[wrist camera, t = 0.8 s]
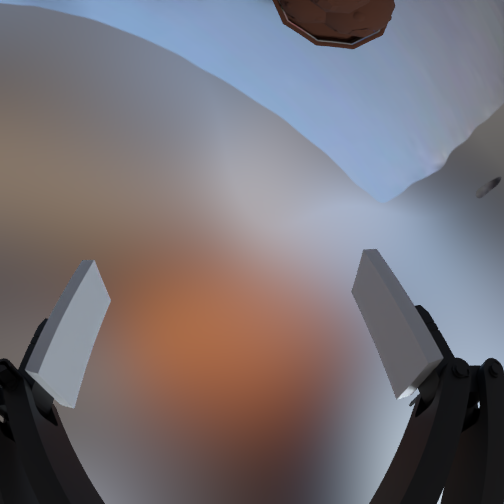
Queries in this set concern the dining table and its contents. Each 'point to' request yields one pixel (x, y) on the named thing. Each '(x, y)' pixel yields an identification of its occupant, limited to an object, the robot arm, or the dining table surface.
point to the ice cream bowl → (336, 20)
